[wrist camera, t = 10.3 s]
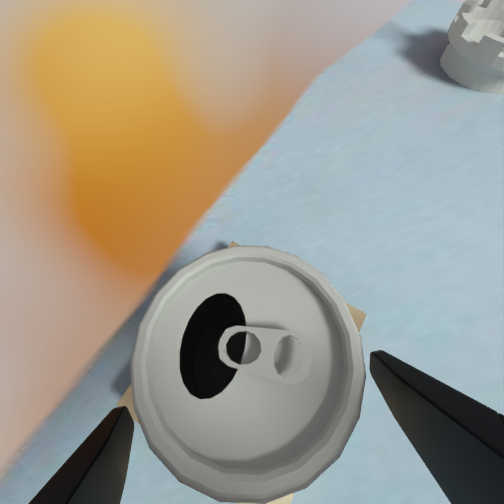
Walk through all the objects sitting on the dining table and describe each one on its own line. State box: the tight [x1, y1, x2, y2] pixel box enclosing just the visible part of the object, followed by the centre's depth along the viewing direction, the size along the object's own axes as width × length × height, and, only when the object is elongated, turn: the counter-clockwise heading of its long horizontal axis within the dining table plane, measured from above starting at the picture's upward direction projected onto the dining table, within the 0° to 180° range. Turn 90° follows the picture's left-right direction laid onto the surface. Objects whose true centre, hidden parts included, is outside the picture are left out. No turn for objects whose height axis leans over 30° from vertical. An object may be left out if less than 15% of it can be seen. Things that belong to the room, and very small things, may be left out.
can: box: [130, 245, 366, 504], centre depth 12 cm, size 8×8×12 cm
